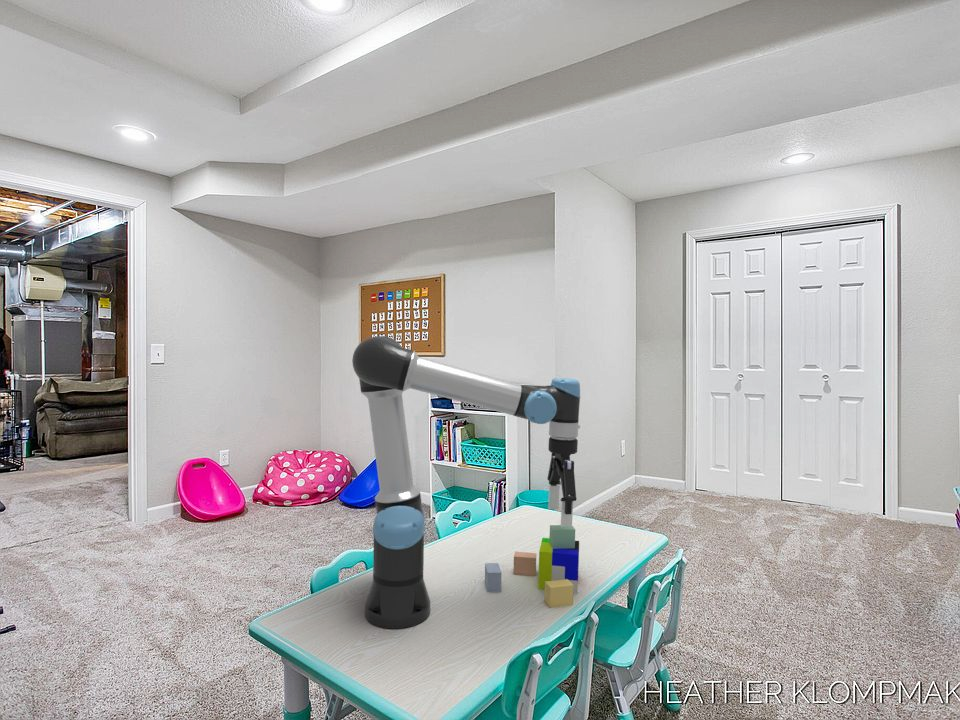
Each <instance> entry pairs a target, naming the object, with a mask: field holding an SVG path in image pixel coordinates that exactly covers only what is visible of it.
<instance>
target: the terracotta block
mask: <svg viewBox="0 0 960 720" xmlns="http://www.w3.org/2000/svg"><path fill="white" fill-rule="evenodd" d="M512 569H513V571H512V573H513V575H518V576H519V575H520V576H521V575H522V576H532V577H536V572H537V553H536V552H525V551H524V552H523V551H514V553H513V568H512Z"/></svg>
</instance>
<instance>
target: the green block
mask: <svg viewBox="0 0 960 720" xmlns="http://www.w3.org/2000/svg"><path fill="white" fill-rule="evenodd" d="M549 538H550V541H549V544H550V545H551V547H552V549H561V548H575V541H576V529H575V527H574V526H573V525H572V526H561V524H558V525H557V524H552V525H549Z"/></svg>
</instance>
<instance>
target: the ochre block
mask: <svg viewBox="0 0 960 720" xmlns="http://www.w3.org/2000/svg"><path fill="white" fill-rule="evenodd" d="M543 601H544V602H545V604H546V605H547V606H548V607H549V608H560V607H561V608H562V607H567V606H573V605H574V593H573V584H572V583H571V582H570V581H569V580H568V579H563V580H554V581H545V590H544V600H543Z"/></svg>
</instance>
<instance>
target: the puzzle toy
mask: <svg viewBox="0 0 960 720" xmlns="http://www.w3.org/2000/svg"><path fill="white" fill-rule="evenodd" d="M549 541H550V537H542V539H541V543H540V546H539V552H538V578H537V579H538V580H537V581H538V583H537V585H538V586H537V587H538V588H537V589H538V590H543V591H545V581H554V580H563V579H568V580H569V581H570V582H571V583H572V584H573V594H578V590H579V589H578V588H579V567H580V566H579V564H580V561H579V559H580V540H575V548H561V549H552V547H551V545H550V544H549Z"/></svg>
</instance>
